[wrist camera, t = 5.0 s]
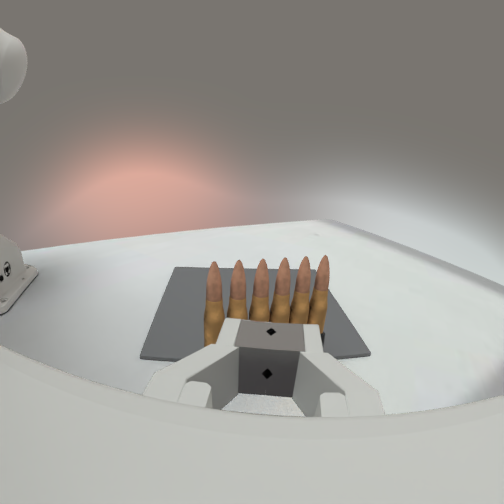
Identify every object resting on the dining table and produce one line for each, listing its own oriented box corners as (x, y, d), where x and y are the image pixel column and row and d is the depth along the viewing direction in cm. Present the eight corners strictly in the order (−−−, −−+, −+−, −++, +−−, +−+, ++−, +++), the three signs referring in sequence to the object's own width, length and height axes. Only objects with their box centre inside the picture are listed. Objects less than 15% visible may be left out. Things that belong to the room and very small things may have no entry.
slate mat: (175, 269, 50) (175, 266, 50) (314, 271, 52) (314, 269, 52) (140, 358, 27) (139, 355, 27) (369, 355, 29) (370, 352, 29)
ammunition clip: (310, 364, 28) (329, 251, 24) (318, 375, 27) (341, 258, 23) (203, 381, 25) (199, 257, 21) (207, 395, 24) (202, 267, 20)
